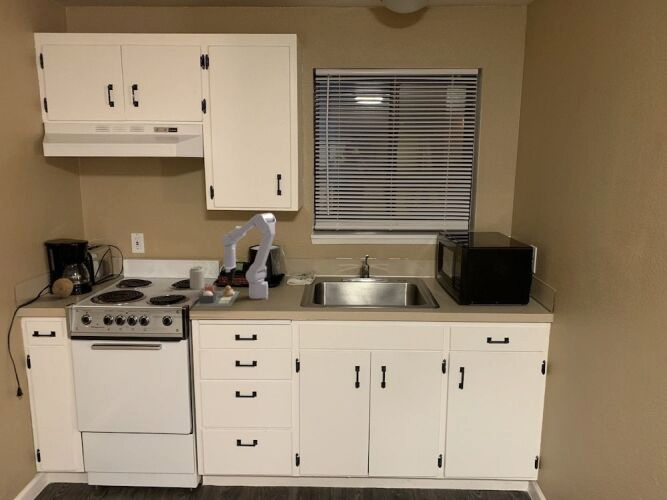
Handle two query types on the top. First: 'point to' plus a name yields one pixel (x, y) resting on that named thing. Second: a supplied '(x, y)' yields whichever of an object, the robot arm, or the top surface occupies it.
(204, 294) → the dome
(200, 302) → the board
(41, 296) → the top surface
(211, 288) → the die
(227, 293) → the pawn
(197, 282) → the can
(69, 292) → the natural sponge
